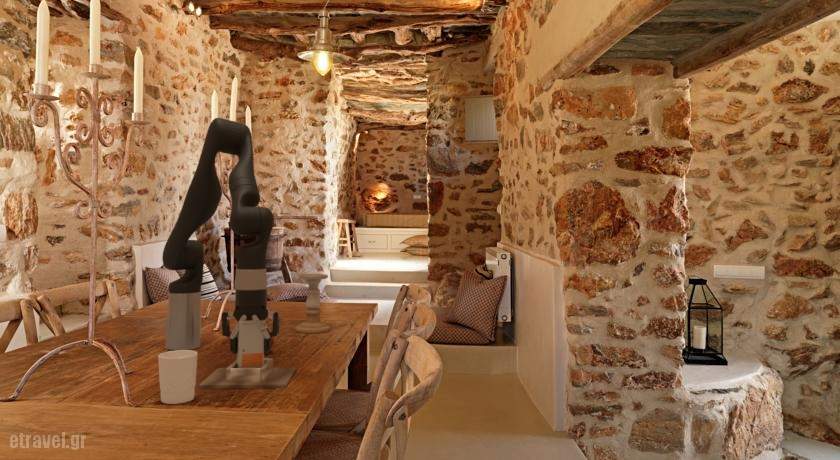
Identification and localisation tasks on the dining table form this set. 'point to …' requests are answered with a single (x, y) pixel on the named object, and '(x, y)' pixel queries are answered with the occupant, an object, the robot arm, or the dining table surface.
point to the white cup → (177, 376)
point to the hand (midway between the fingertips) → (250, 353)
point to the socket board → (249, 377)
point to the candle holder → (313, 306)
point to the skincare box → (250, 345)
